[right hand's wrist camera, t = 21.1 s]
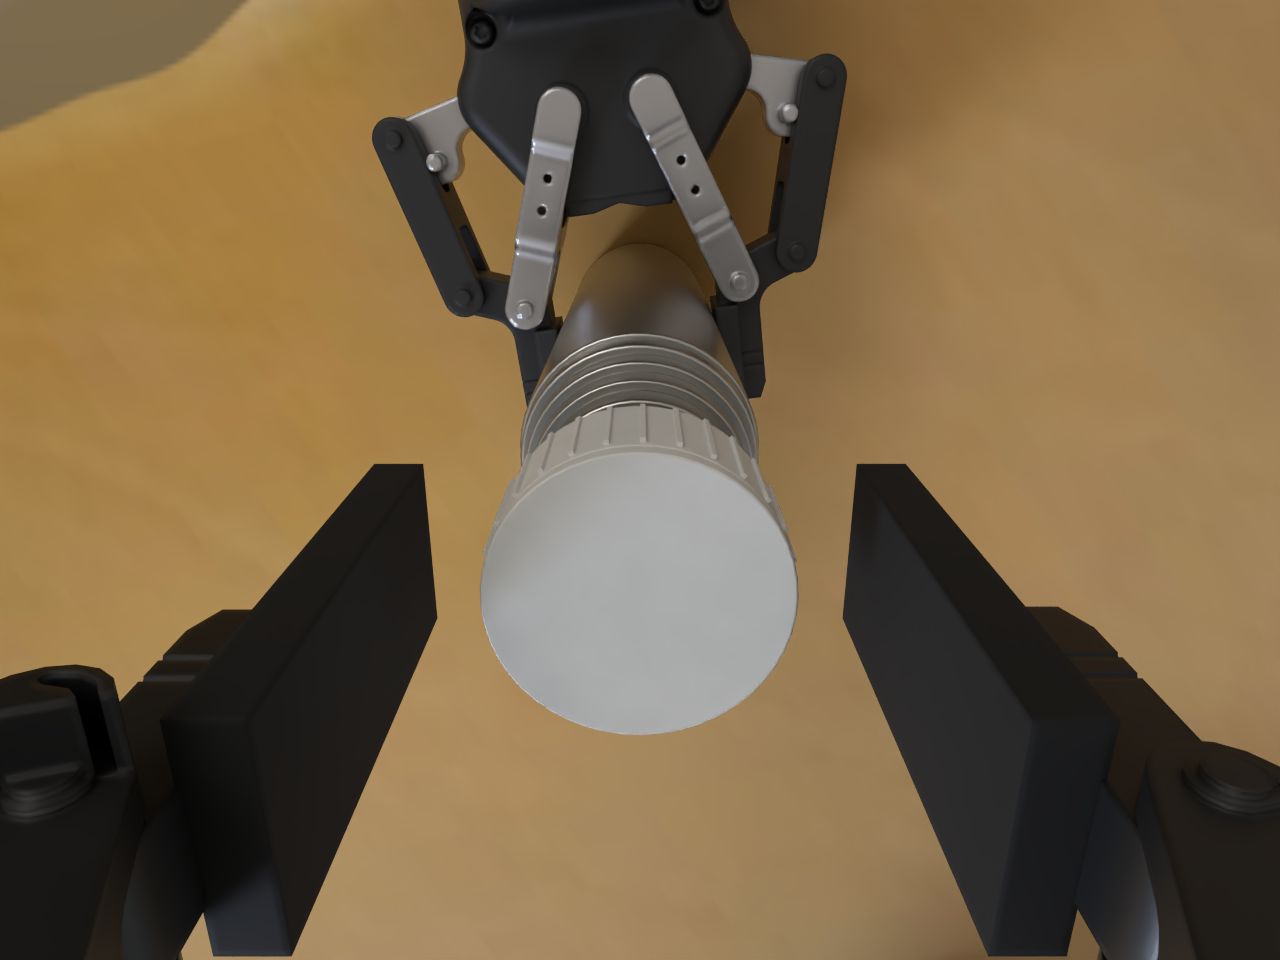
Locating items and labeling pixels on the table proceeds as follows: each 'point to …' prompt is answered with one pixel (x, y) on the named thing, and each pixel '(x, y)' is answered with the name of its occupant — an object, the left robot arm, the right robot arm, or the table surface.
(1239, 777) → the right robot arm
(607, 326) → the bottle
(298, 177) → the table surface
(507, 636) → the cap
